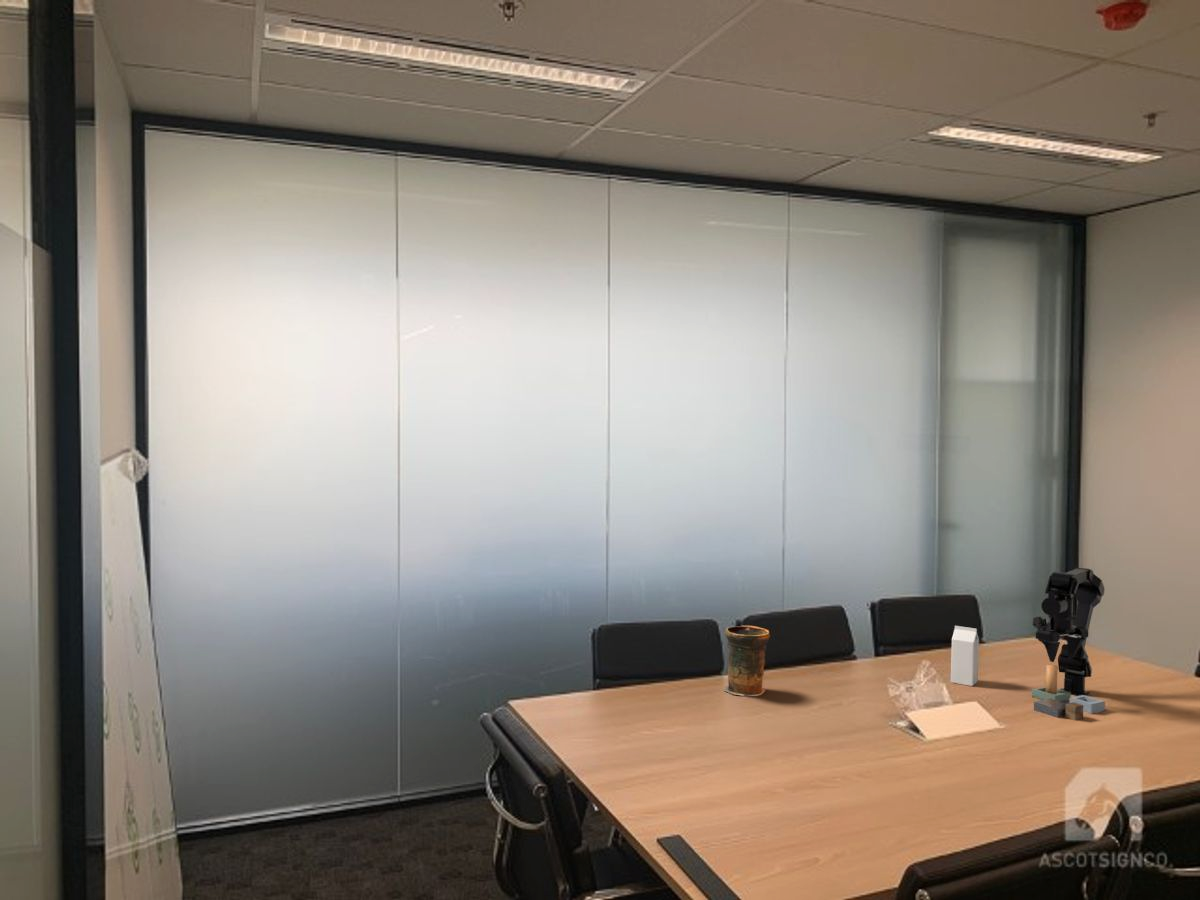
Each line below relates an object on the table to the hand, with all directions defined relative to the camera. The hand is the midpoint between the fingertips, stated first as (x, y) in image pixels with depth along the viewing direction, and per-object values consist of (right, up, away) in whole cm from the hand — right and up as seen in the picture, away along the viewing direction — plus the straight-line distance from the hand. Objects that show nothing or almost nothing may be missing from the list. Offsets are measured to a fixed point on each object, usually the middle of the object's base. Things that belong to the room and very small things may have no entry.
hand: (1061, 660), depth 279 cm
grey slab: (-9, -13, -13) cm, 21 cm away
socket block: (+3, -13, -9) cm, 16 cm away
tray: (-3, -13, +1) cm, 13 cm away
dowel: (-3, -12, +1) cm, 12 cm away
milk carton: (-23, -12, +18) cm, 32 cm away
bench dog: (-6, -13, -18) cm, 23 cm away
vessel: (-101, -11, +3) cm, 101 cm away
